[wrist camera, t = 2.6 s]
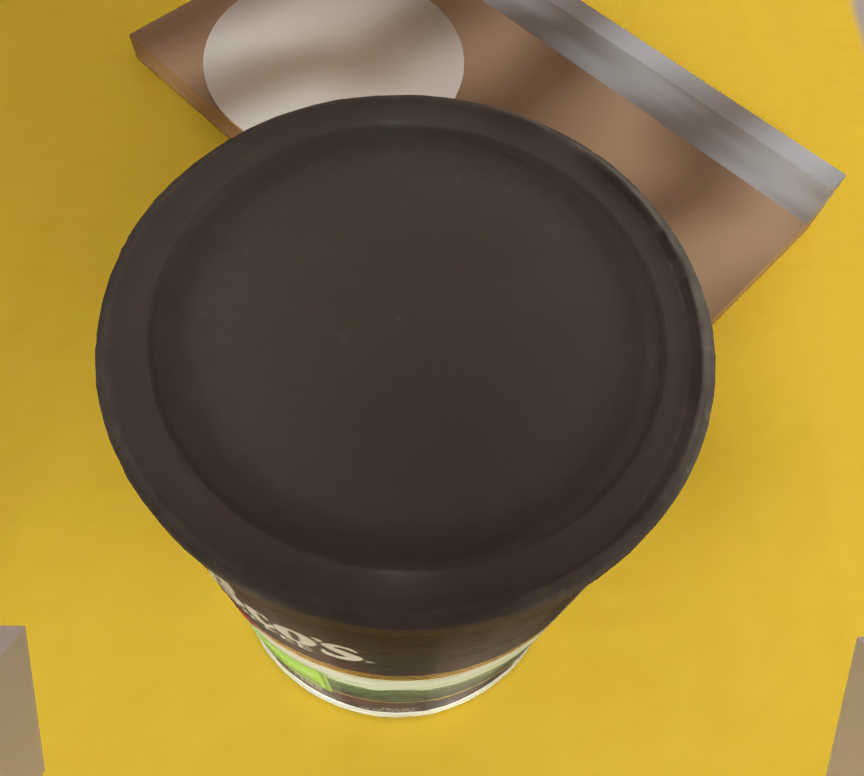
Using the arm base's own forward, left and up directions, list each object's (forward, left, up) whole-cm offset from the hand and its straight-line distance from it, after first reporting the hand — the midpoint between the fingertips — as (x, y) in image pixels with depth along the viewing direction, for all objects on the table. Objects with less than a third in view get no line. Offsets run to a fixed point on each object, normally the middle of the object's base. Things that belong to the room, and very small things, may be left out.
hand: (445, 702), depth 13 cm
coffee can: (-5, +4, -12) cm, 13 cm away
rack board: (-16, +18, -12) cm, 26 cm away
